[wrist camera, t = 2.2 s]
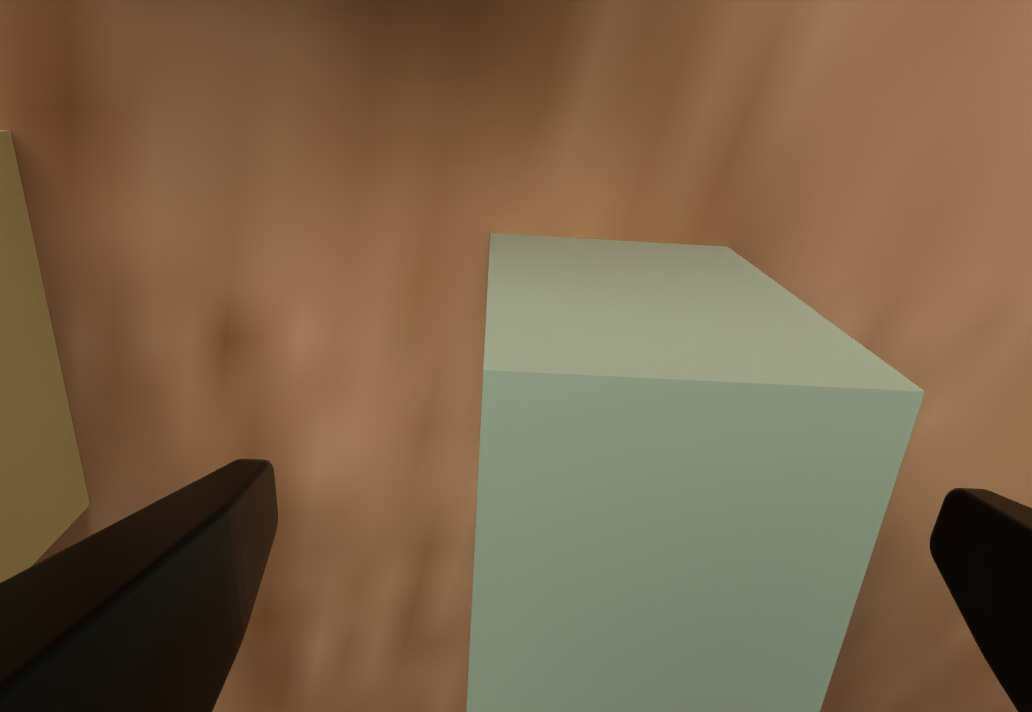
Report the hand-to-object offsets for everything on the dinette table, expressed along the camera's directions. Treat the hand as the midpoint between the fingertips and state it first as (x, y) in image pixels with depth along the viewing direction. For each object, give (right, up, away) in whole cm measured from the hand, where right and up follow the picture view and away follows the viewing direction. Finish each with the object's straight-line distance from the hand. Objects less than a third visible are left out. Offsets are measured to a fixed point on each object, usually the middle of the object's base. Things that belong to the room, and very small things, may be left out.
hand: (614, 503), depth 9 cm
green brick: (0, +1, +2) cm, 2 cm away
